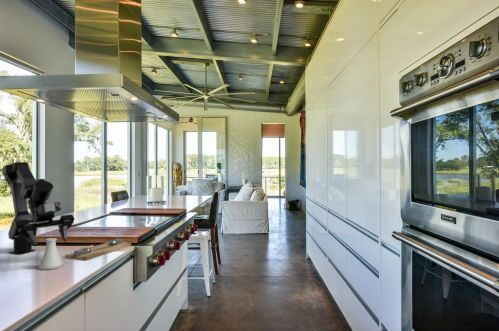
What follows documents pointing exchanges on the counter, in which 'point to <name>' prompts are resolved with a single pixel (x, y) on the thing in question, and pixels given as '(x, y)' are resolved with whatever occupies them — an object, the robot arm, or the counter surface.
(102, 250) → the tan board
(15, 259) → the counter surface
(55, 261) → the flask
